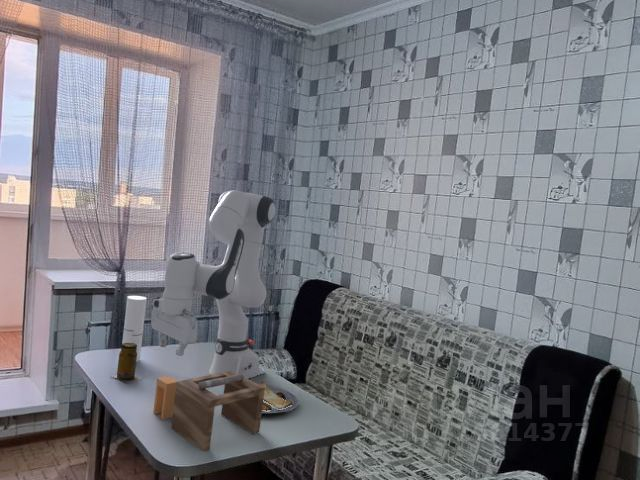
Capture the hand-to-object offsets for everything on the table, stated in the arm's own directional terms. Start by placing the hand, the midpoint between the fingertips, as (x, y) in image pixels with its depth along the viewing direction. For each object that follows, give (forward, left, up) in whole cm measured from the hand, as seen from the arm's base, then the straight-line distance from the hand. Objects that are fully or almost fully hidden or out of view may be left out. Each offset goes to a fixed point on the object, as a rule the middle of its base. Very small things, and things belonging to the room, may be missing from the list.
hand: (170, 350), depth 152 cm
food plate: (-33, +8, -21) cm, 40 cm away
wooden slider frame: (-7, +17, -20) cm, 27 cm away
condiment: (-5, -33, -21) cm, 39 cm away
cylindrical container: (-15, -50, -20) cm, 56 cm away
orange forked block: (0, 0, -20) cm, 20 cm away
